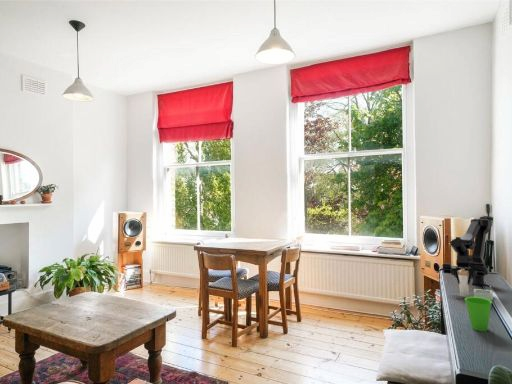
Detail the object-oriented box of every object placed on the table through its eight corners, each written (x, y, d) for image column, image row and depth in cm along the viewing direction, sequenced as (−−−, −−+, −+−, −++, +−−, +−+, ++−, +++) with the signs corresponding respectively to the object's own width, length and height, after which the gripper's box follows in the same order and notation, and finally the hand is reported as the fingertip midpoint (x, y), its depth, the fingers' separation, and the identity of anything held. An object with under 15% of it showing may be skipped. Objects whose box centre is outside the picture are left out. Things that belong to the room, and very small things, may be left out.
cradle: (474, 294, 170) (473, 288, 171) (492, 296, 166) (492, 290, 166) (474, 298, 164) (473, 292, 164) (492, 300, 160) (492, 294, 160)
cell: (459, 294, 172) (458, 267, 172) (469, 295, 169) (467, 268, 170) (459, 296, 168) (458, 269, 169) (468, 297, 166) (467, 270, 166)
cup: (498, 333, 123) (497, 304, 124) (471, 332, 125) (470, 303, 126) (487, 324, 132) (485, 296, 133) (462, 323, 134) (460, 296, 134)
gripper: (441, 248, 178) (440, 273, 168) (483, 250, 167) (485, 276, 158) (443, 260, 184) (443, 285, 175) (484, 262, 174) (486, 289, 164)
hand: (463, 283), depth 168 cm, fingers closed on cell, 4 cm apart
